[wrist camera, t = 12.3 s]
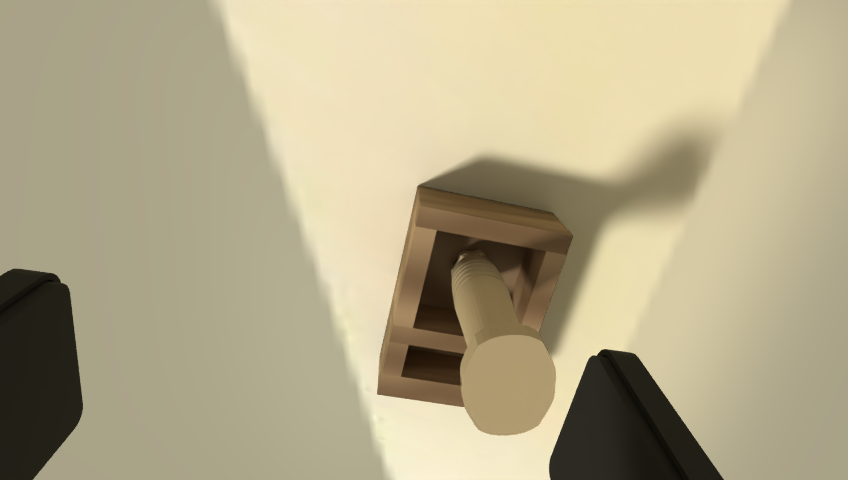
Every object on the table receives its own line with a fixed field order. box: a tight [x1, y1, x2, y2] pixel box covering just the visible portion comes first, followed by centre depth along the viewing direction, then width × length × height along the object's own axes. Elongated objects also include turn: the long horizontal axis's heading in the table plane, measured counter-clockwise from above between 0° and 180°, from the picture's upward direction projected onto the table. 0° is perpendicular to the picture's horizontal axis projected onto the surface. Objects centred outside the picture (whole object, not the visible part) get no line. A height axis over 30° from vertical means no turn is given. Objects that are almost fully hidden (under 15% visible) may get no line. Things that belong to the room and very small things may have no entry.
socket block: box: [377, 186, 573, 407], centre depth 39 cm, size 16×11×5 cm
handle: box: [451, 249, 556, 435], centre depth 32 cm, size 5×6×15 cm
